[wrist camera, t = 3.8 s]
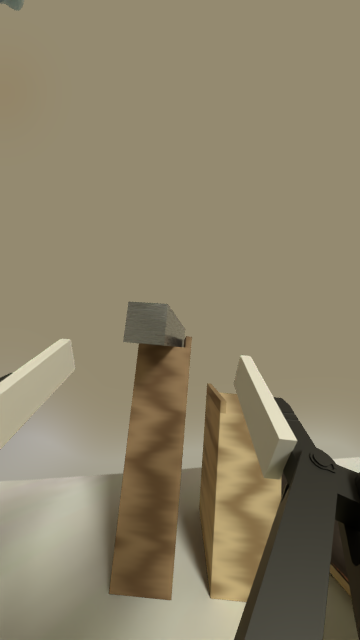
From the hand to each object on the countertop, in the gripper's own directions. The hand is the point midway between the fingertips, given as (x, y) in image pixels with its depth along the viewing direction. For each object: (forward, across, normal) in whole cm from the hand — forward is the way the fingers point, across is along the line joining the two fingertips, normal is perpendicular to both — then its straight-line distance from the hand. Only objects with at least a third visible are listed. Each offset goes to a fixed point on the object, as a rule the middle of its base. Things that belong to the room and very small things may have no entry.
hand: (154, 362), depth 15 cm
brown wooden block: (+1, 0, +31) cm, 31 cm away
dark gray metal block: (+13, 0, +6) cm, 14 cm away
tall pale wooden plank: (+1, -12, +32) cm, 34 cm away
